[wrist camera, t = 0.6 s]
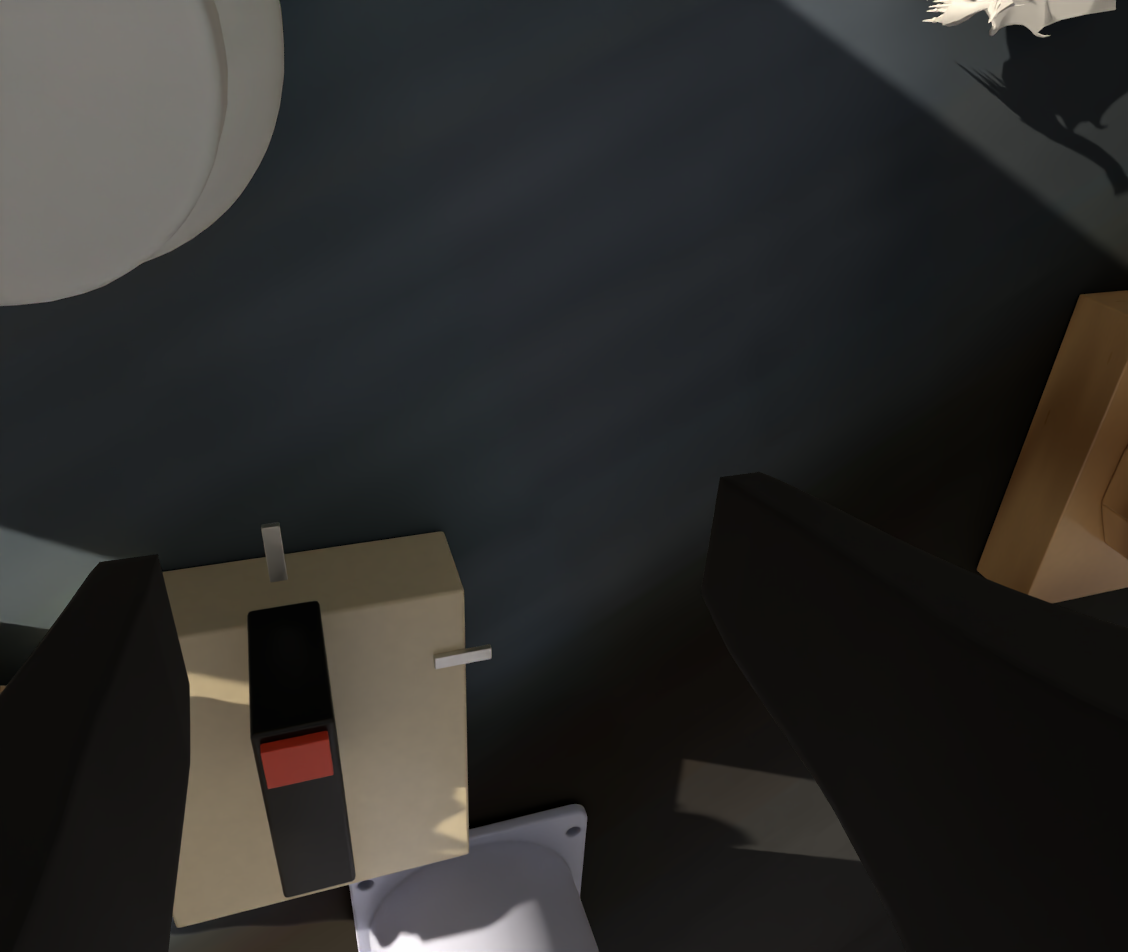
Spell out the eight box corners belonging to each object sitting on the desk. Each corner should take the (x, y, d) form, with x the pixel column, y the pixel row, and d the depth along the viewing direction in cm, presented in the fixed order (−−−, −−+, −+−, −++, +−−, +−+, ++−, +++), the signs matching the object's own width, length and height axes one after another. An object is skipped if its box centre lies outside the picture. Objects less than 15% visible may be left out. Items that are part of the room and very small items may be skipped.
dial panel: (471, 782, 28) (491, 854, 25) (158, 854, 25) (151, 942, 23) (465, 437, 21) (492, 497, 19) (37, 487, 18) (11, 562, 16)
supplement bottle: (-175, -3, 13) (-725, 107, 6) (-2, -331, 12) (-400, -760, 4) (162, 212, 16) (103, 474, 9) (327, -34, 15) (429, 18, 7)
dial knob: (339, 753, 22) (358, 892, 18) (276, 766, 21) (284, 911, 18) (318, 597, 19) (336, 729, 16) (246, 610, 18) (249, 748, 15)
